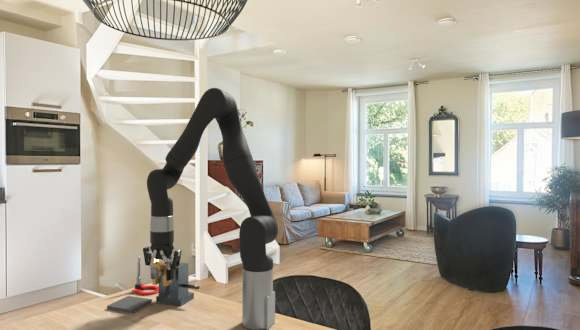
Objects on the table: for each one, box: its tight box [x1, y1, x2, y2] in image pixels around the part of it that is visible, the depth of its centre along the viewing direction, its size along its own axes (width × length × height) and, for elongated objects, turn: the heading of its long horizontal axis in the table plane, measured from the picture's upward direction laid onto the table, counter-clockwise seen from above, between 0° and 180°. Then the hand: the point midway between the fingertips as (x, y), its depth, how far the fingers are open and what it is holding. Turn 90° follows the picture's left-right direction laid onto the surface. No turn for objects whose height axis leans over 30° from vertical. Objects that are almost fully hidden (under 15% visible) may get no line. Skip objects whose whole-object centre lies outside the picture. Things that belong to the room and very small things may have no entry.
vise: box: [150, 262, 200, 307], centre depth 139 cm, size 15×16×14 cm
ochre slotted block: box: [152, 261, 172, 286], centre depth 136 cm, size 5×3×7 cm, turn 71°
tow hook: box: [131, 256, 159, 296], centre depth 152 cm, size 8×13×9 cm
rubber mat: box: [106, 295, 153, 314], centre depth 138 cm, size 10×10×1 cm
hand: (162, 279), depth 136 cm, fingers closed on ochre slotted block, 5 cm apart
